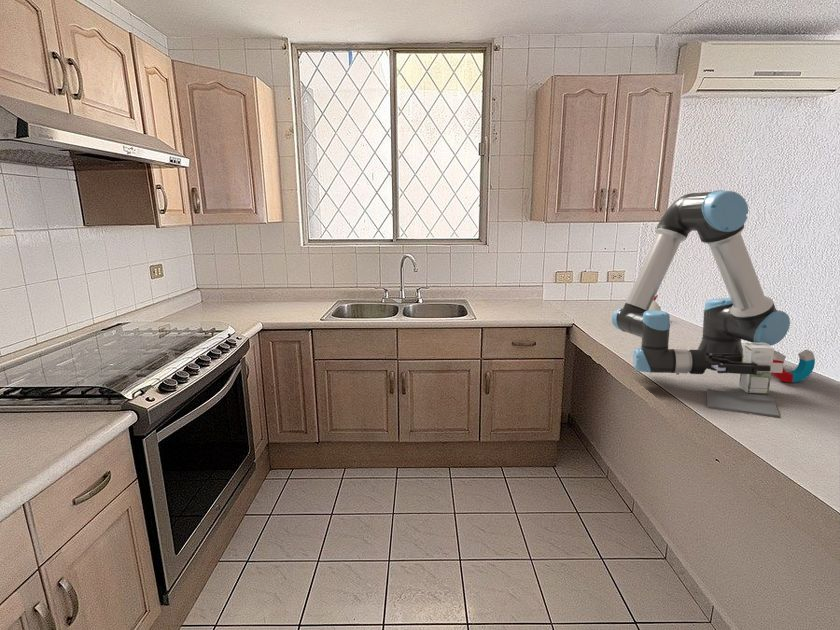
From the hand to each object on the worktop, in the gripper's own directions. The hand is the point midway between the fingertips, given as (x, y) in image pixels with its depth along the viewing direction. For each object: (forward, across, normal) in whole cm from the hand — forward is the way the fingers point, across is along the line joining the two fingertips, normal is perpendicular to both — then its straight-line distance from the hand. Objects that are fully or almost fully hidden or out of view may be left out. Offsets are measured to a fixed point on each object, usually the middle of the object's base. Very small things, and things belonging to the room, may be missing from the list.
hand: (776, 364), depth 134 cm
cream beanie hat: (-19, -93, -9) cm, 95 cm away
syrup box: (-5, 0, -9) cm, 10 cm away
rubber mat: (-12, +11, -9) cm, 18 cm away
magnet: (+8, -10, -9) cm, 15 cm away
